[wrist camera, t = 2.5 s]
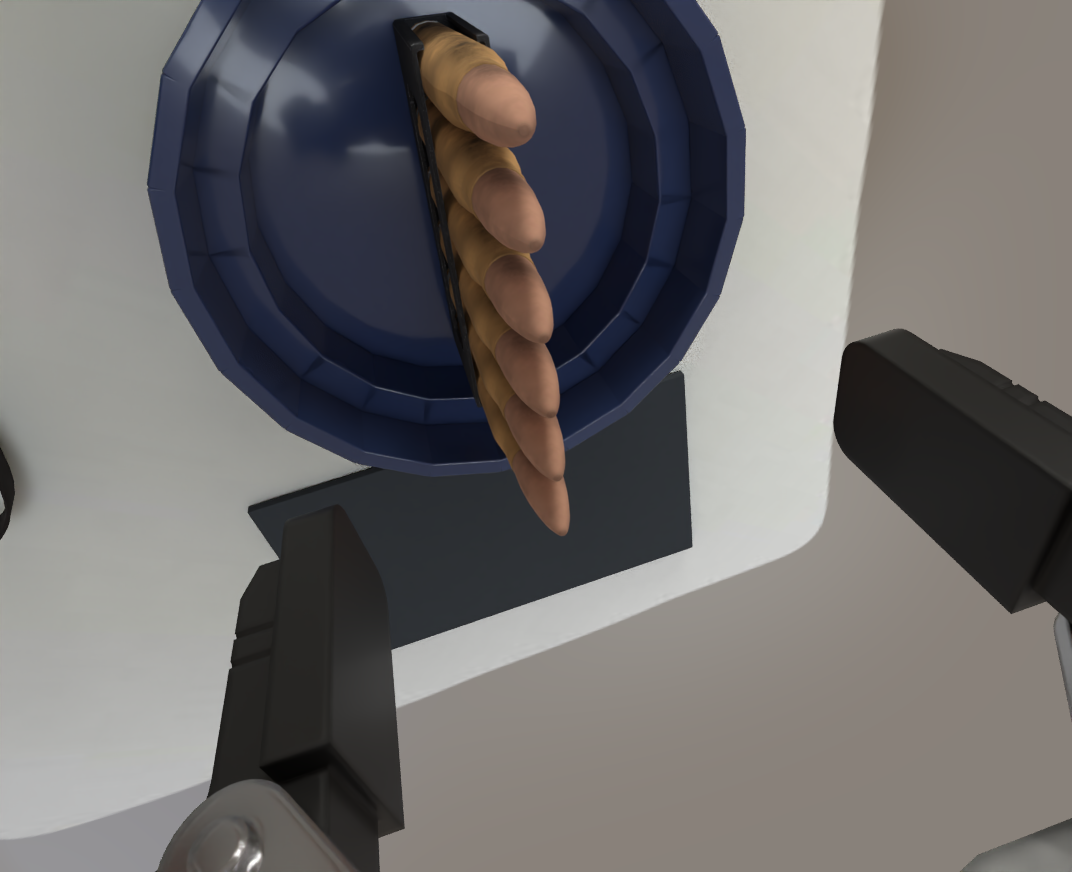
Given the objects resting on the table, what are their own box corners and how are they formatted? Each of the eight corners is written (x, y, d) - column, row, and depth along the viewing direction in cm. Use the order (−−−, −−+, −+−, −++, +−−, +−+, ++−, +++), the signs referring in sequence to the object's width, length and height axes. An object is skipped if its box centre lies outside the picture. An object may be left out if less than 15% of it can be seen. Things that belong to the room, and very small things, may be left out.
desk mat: (351, 657, 34) (351, 663, 34) (248, 506, 27) (247, 512, 27) (689, 542, 36) (692, 547, 36) (680, 370, 29) (684, 374, 28)
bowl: (319, 445, 26) (316, 532, 22) (63, -31, 16) (-28, -33, 12) (680, 333, 27) (741, 395, 23) (656, -171, 17) (753, -215, 13)
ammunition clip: (501, 334, 25) (602, 551, 15) (455, 344, 25) (529, 570, 15) (454, 11, 18) (580, 47, 9) (391, 19, 18) (453, 66, 9)
